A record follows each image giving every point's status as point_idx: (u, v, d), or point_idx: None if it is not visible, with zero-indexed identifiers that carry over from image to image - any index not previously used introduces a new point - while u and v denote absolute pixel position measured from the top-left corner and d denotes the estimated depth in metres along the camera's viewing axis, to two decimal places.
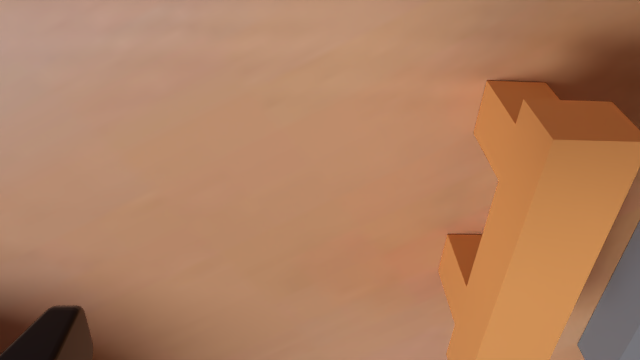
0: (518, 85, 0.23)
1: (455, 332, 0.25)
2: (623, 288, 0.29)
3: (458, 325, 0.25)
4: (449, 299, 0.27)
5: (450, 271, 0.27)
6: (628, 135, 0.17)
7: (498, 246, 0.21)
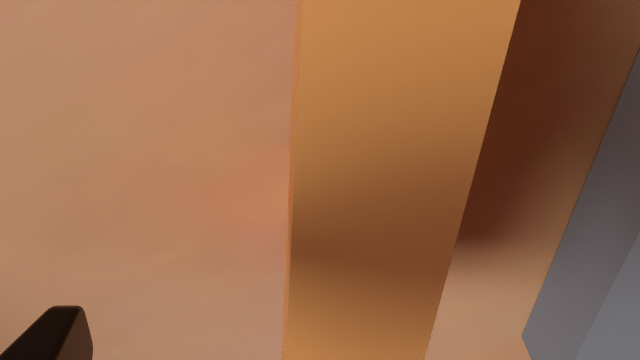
0: None
1: (283, 312, 0.15)
2: (580, 247, 0.18)
3: (284, 299, 0.14)
4: None
5: None
6: None
7: (293, 130, 0.10)
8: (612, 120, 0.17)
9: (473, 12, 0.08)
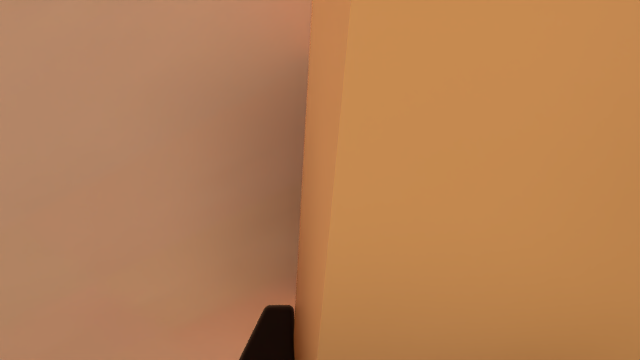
0: None
1: None
2: None
3: None
4: None
5: None
6: None
7: None
8: None
9: None
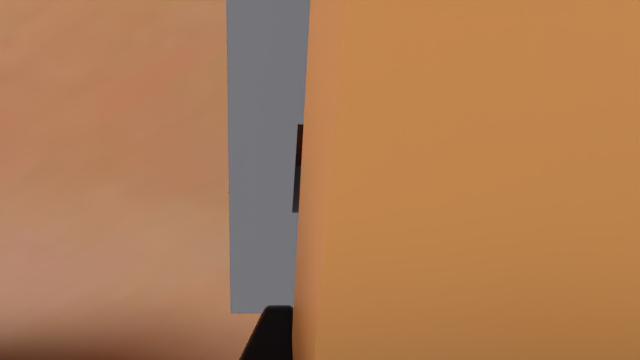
0: None
1: None
2: None
3: None
4: None
5: None
6: None
7: None
8: None
9: None
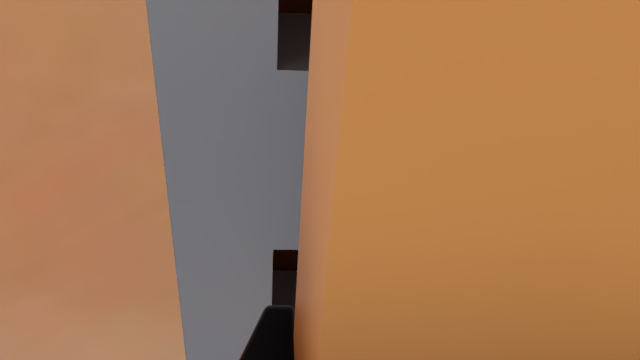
0: None
1: None
2: None
3: None
4: None
5: None
6: None
7: None
8: None
9: None
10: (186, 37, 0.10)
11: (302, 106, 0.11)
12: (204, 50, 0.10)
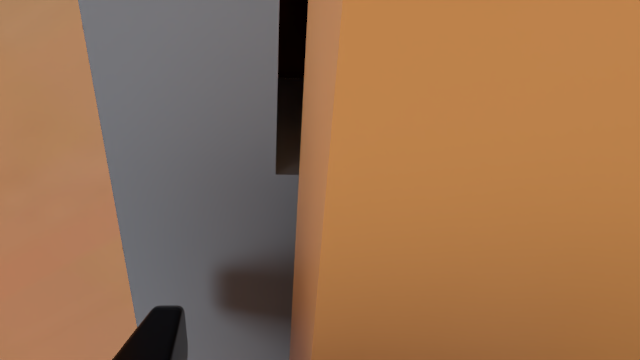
0: None
1: None
2: None
3: None
4: None
5: None
6: None
7: None
8: None
9: None
10: (152, 137, 0.07)
11: None
12: (177, 152, 0.08)
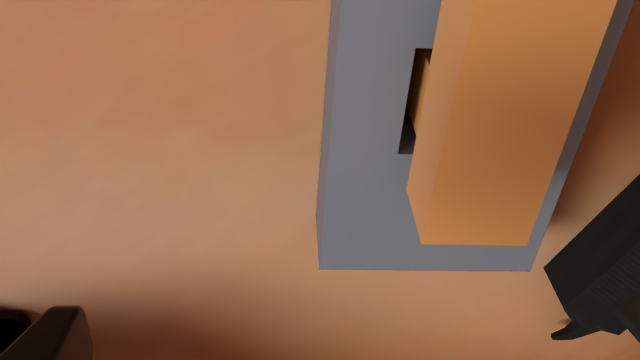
0: None
1: (416, 146, 0.17)
2: (326, 108, 0.20)
3: (420, 130, 0.16)
4: (413, 116, 0.19)
5: (414, 74, 0.19)
6: None
7: None
8: None
9: None
10: None
11: None
12: None
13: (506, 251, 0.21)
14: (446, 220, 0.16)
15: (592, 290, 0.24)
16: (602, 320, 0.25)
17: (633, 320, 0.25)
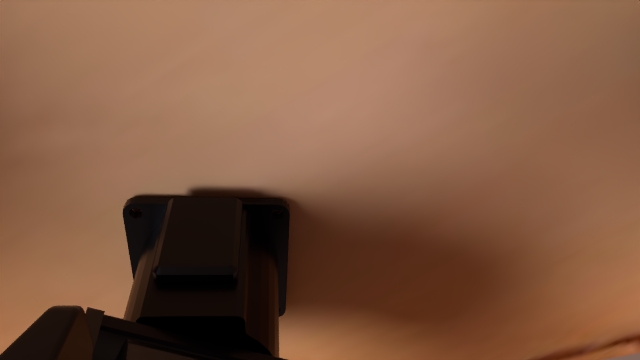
0: None
1: None
2: None
3: None
4: None
5: None
6: None
7: None
8: None
9: None
10: None
11: None
12: None
13: None
14: None
15: None
16: None
17: None
